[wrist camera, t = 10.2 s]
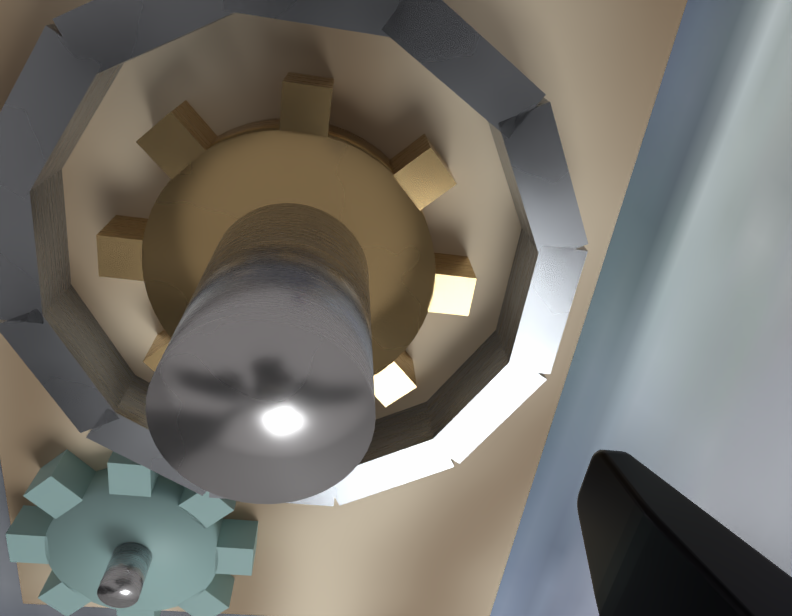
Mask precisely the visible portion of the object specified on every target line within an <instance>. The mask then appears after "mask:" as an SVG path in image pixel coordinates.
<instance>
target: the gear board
mask: <svg viewBox="0 0 792 616" xmlns="http://www.w3.org/2000/svg"><path fill="white" fill-rule="evenodd" d="M686 3H687V0H0V459H1V466H2V472H3V478H4V485H5V491H6V497H7V504H8V510H9V516H10V523H11V526H10V528H9V529H8V531H7V533H6V539H7V545H8V552H9V558H10V562H17V567H18V574H19V580H20V586H21V593H22V599H23V603H25V604H45V605H49V606H51V607H52V608H54V609H56V610H57V611H59V612H60V613H62V614H63V615H65V616H69V615H71V614H72V613H74V612H75V611H77V610H79V609H80V608H82V607H83V606H85V607H105V608H112V609H117V616H160V614H161V610H165V611H185V612H187V613H189V614H190V615H192V616H216V615H218V614H219V613H225V614H245V615H265V616H490V613H491V610H492V607H493V604H494V601H495V598H496V595H497V591H498V588H499V585H500V582H501V579H502V576H503V573H504V570H505V567H506V563H507V560H508V557H509V554H510V551H511V548H512V545H513V542H514V539H515V535H516V532H517V529H518V526H519V523H520V520H521V517H522V514H523V511H524V507H525V504H526V501H527V498H528V495H529V492H530V489H531V486H532V482H533V479H534V476H535V473H536V470H537V467H538V464H539V461H540V458H541V454H542V451H543V448H544V445H545V442H546V439H547V436H548V433H549V430H550V426H551V423H552V420H553V417H554V414H555V411H556V408H557V405H558V402H559V398H560V395H561V392H562V389H563V386H564V383H565V380H566V377H567V374H568V370H569V367H570V364H571V361H572V358H573V355H574V352H575V349H576V345H577V342H578V339H579V336H580V333H581V330H582V327H583V324H584V321H585V317H586V314H587V311H588V308H589V305H590V302H591V299H592V296H593V293H594V289H595V286H596V283H597V280H598V277H599V274H600V271H601V268H602V265H603V261H604V258H605V255H606V252H607V249H608V246H609V243H610V240H611V237H612V233H613V230H614V227H615V224H616V221H617V218H618V215H619V212H620V208H621V205H622V202H623V199H624V196H625V193H626V190H627V187H628V184H629V180H630V177H631V174H632V171H633V168H634V165H635V162H636V159H637V156H638V152H639V149H640V146H641V143H642V140H643V137H644V134H645V131H646V128H647V124H648V121H649V118H650V115H651V112H652V109H653V106H654V103H655V99H656V96H657V93H658V90H659V87H660V84H661V81H662V78H663V75H664V71H665V68H666V65H667V62H668V59H669V56H670V53H671V50H672V47H673V43H674V40H675V37H676V34H677V31H678V28H679V25H680V22H681V19H682V15H683V12H684V9H685V6H686ZM288 72H292V73H299V74H305V75H312V76H319V77H326V78H333V79H334V87H333V97H332V106H331V116H330V124H331V125H334V126H337V127H340V128H342V129H345V130H347V131H349V132H351V133H353V134H355V135H357V136H359V137H361V138H363V139H365V140H366V141H368V142H369V143H371V144H372V145H373V146H375V147H376V148H378V149H379V150H380V151H381V152H383V153H384V154H385V155H386V156H387V157H388V158H389V159H391V158H393V157H394V156H395V155H397V154H398V153H399V152H401V151H402V150H403V149H405V148H406V147H407V146H408V145H410V144H411V143H412V142H414V141H415V140H416V139H418V138H419V137H420V136H422V135H423V134H424V133H425V135H426V136H427V138H428V139H429V140H430V142H431V143H432V145H433V146H434V147H435V149H436V150H437V152H438V153H439V154H440V156H441V157H442V159H443V160H444V161H445V163H446V164H447V166H448V167H449V169H450V171H451V173H452V175H453V177H454V179H455V181H456V183H457V184H456V185H455V186H453V187H452V188H451V189H449V190H448V191H446V192H445V193H444V194H442V195H441V196H440V197H438V198H437V199H435V200H434V201H433V202H431V203H430V204H428V205H427V206H426V207H424V208H423V212H424V215H425V219H426V222H427V225H428V229H429V232H430V236H431V239H432V243H433V249H434V252H435V253H443V254H452V255H460V256H468V258H469V261H470V263H471V266H472V268H473V271H474V273H475V275H476V278H477V280H476V284H475V288H474V293H473V297H472V302H471V306H470V310H469V315H468V316H464V315H455V314H445V313H436V312H428V313H427V316H426V318H425V320H424V323H423V325H422V327H421V328H420V330H419V332H418V333H417V335H416V337H415V338H414V340H413V341H412V342H411V343H410V345H409V346H408V347H407V348H406V350H405V351H406V352H407V353H408V354H409V356H410V357H411V358H412V359H413V364H414V371H415V377H416V384H417V387H416V388H415V389H413V390H411V391H410V392H408V393H407V394H405V395H404V396H402V397H401V398H399V399H397V400H396V401H394V402H393V403H391V404H390V405H388V406H387V407H385V406H384V405H383V404H382V403H381V402H380V401H379V400H378V399H377V398H376V396H375V414H376V419H375V429H374V433H373V437H372V441H371V443H370V446H369V448H368V450H367V452H366V454H365V455H364V457H363V459H362V460H361V462H360V463H359V464H358V465H357V467H356V468H355V469H354V470H353V471H352V472H351V473H350V474H349V475H348V476H347V477H346V478H344V479H343V480H342V481H340V482H339V483H338V484H336V485H335V486H333V487H331V488H329V489H328V490H326V491H324V492H322V493H319V494H317V495H314V496H312V497H309V498H306V499H302V500H299V501H294V502H288V503H280V504H253V503H244V502H239V501H234V500H230V499H226V498H223V497H220V496H217V495H214V494H212V493H210V492H208V491H205V490H203V489H201V488H200V487H198V486H196V485H194V484H193V483H191V482H190V481H188V480H187V479H185V478H184V477H183V476H181V475H180V474H179V473H178V472H177V471H176V470H175V469H174V468H172V467H171V466H170V465H169V463H168V462H167V461H166V460H165V459H164V457H163V456H162V455H161V453H160V452H159V450H158V448H157V447H156V445H155V443H154V441H153V439H152V437H151V434H150V431H149V427H148V424H147V418H146V396H147V392H148V387H149V384H150V381H151V379H152V377H153V374H154V371H153V370H152V369H150V368H149V367H148V366H147V365H146V364H145V363H144V362H143V360H144V358H145V356H146V354H147V353H148V351H149V349H150V347H151V345H152V343H153V341H154V340H155V338H156V336H157V334H158V333H160V332H161V331H162V330H164V328H163V327H162V325H161V323H160V322H159V320H158V318H157V316H156V314H155V313H154V310H153V308H152V305H151V303H150V300H149V298H148V295H147V291H146V287H145V283H144V281H137V280H127V279H118V278H109V277H99V272H98V256H97V240H96V235H97V234H98V233H99V232H100V231H101V230H102V229H103V228H104V227H105V226H106V225H107V224H108V223H109V222H110V220H111V219H112V218H113V217H114V216H115V215H122V216H130V217H139V218H147V219H148V218H149V215H150V212H151V210H152V207H153V206H154V204H155V202H156V200H157V198H158V196H159V195H160V193H161V191H162V190H163V189H164V187H165V186H166V185H167V183H168V182H169V181H170V180H171V179H170V178H169V177H168V176H167V174H166V173H165V172H164V171H163V170H162V169H161V168H160V167H159V166H158V165H157V164H156V163H155V162H154V161H153V160H152V159H151V158H150V156H149V155H148V154H147V153H146V152H145V151H144V150H143V149H142V148H141V147H140V146H139V145H138V144H137V143H136V141H137V140H138V139H139V138H141V137H142V136H143V135H144V134H145V133H146V132H148V131H149V130H150V129H151V128H152V127H153V126H155V125H156V124H157V123H158V122H159V121H160V120H162V119H163V118H164V117H165V116H166V115H167V114H169V113H170V112H171V111H172V110H174V109H175V108H176V107H178V106H179V105H180V104H181V103H183V102H184V101H185V100H186V101H187V102H188V103H189V104H190V105H191V106H192V107H193V109H194V110H195V111H196V112H197V113H198V114H199V115H200V117H201V118H202V119H203V120H204V121H205V122H206V123H207V125H208V126H209V127H210V128H211V129H212V130H213V131H214V133H215V134H216V135H217V136H219V135H221V134H223V133H224V132H226V131H228V130H230V129H233V128H235V127H238V126H241V125H244V124H247V123H250V122H255V121H260V120H265V119H274V118H280V111H281V96H282V81H283V80H284V78H285V77H286V75H287V73H288Z"/></svg>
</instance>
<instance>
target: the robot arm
mask: <svg viewBox="0 0 792 616" xmlns="http://www.w3.org/2000/svg"><path fill="white" fill-rule="evenodd" d="M577 508H578V515H579V520H580V525H581V530H582V535H583V539H584V544H585V549H586V554H587V559H588V564H589V569H590V574H591V579H592V584H593V589H594V594H595V599H596V603H597V607H598V611H599V616H792V577H791V576H789V575H788V574H787V573H785V572H784V571H783V570H781V569H780V568H779V567H777V566H776V565H775V564H774V563H772V562H771V561H770V560H768V559H767V558H766V557H764V556H763V555H762V554H760V553H759V552H758V551H756V550H755V549H754V548H752V547H751V546H750V545H748V544H747V543H746V542H744V541H743V540H742V539H741V538H739V537H738V536H737V535H735V534H734V533H733V532H731V531H730V530H729V529H727V528H726V527H725V526H723V525H722V524H721V523H719V522H718V521H717V520H715V519H714V518H713V517H711V516H710V515H709V514H708V513H706V512H705V511H704V510H702V509H701V508H700V507H698V506H697V505H696V504H694V503H693V502H692V501H690V500H689V499H688V498H686V497H685V496H684V495H682V494H681V493H680V492H679V491H677V490H676V489H675V488H673V487H672V486H671V485H669V484H668V483H667V482H665V481H664V480H663V479H661V478H660V477H659V476H657V475H656V474H655V473H653V472H652V471H651V470H649V469H648V468H647V467H646V466H644V465H643V464H642V463H640V462H639V461H638V460H636V459H635V458H634V457H632V456H631V455H630V454H628V453H626V452H622V451H611V450H599V451H597V452H595V454H594V455H593V456H592V458H591V461H590V464H589V466H588V469H587V472H586V475H585V477H584V480H583V483H582V486H581V488H580V491H579V494H578V501H577Z"/></svg>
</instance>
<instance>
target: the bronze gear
mask: <svg viewBox="0 0 792 616" xmlns="http://www.w3.org/2000/svg"><path fill="white" fill-rule="evenodd" d="M333 87H334V79H333V78H326V77H319V76H312V75H305V74H299V73H292V72H288V73H287V75H286V77H285V78H284V80H283V81H282V96H281V111H280V118H274V119H265V120H260V121H255V122H250V123H247V124H244V125H241V126H238V127H235V128H233V129H230V130H228V131H226V132H224V133H223V134H221V135H219V136H217V135H216V134H215V133H214V131H213V130H212V129H211V128H210V127H209V126H208V125H207V123H206V122H205V121H204V120H203V119H202V118H201V117H200V115H199V114H198V113H197V112H196V111H195V110H194V109H193V107H192V106H191V105H190V104H189V103H188V102H187V101H186V100H185V101H184V102H183V103H181V104H180V105H179V106H178V107H176V108H175V109H174V110H172V111H171V112H170V113H169V114H167V115H166V116H165V117H164V118H163V119H162V120H160V121H159V122H158V123H157V124H156V125H155V126H153V127H152V128H151V129H150V130H149V131H148V132H146V133H145V134H144V135H143V136H142V137H141V138H139V139H138V140H137V141H136V143H137V144H138V145H139V146H140V147H141V148H142V149H143V150H144V151H145V152H146V153H147V154H148V155H149V156H150V158H151V159H152V160H153V161H154V162H155V163H156V164H157V165H158V166H159V167H160V168H161V169H162V170H163V171H164V172H165V173H166V174H167V176H168V177H169V178H170V179H171V180H170V181H169V182H168V183H167V185H166V186H165V187H164V189H163V190H162V191H161V193H160V195H159V196H158V198H157V200H156V202H155V204H154V206H153V207H152V210H151V212H150V215H149V218H148V219H147V218H139V217H130V216H122V215H115V216H114V217H113V218H112V219H111V220H110V222H109V223H108V224H107V225H106V226H105V227H104V228H103V229H102V230H101V231H100V232H99V233H98V234H97V235H96V240H97V256H98V272H99V277H109V278H118V279H127V280H137V281H144V283H145V287H146V291H147V295H148V298H149V300H150V303H151V305H152V308H153V310H154V313H155V314H156V316H157V318H158V320H159V322H160V323H161V325H162V327H163V328H164V330H162V331H161V332H160V333H158V334H157V336H156V338H155V340H154V341H153V343H152V345H151V347H150V349H149V351H148V353H147V354H146V356H145V358H144V360H143V362H144V363H145V364H146V365H147V366H148V367H149V368H150V369H152V370H153V371H154V374H153V377H152V379H151V381H150V384H149V387H148V392H147V396H146V418H147V424H148V427H149V431H150V434H151V437H152V439H153V441H154V443H155V445H156V447H157V448H158V450H159V452H160V453H161V455H162V456H163V457H164V459H165V460H166V461H167V462H168V463H169V465H170V466H171V467H172V468H174V469H175V470H176V471H177V472H178V473H179V474H180V475H181V476H183V477H184V478H185V479H187V480H188V481H190V482H191V483H193V484H194V485H196V486H198V487H200V488H201V489H203V490H205V491H208V492H210V493H212V494H214V495H217V496H220V497H223V498H226V499H230V500H234V501H239V502H244V503H253V504H280V503H288V502H294V501H299V500H302V499H306V498H309V497H312V496H314V495H317V494H319V493H322V492H324V491H326V490H328V489H329V488H331V487H333V486H335V485H336V484H338V483H339V482H340V481H342V480H343V479H344V478H346V477H347V476H348V475H349V474H350V473H351V472H352V471H353V470H354V469H355V468H356V467H357V465H358V464H359V463H360V462H361V460H362V459H363V457H364V455H365V454H366V452H367V450H368V448H369V446H370V443H371V441H372V437H373V433H374V429H375V419H376V414H375V396H376V398H377V399H378V400H379V401H380V402H381V403H382V404H383V405H384V406H385V407H387V406H388V405H390V404H391V403H393V402H394V401H396V400H397V399H399V398H401V397H402V396H404V395H405V394H407V393H408V392H410V391H411V390H413V389H415V388H416V387H417V384H416V377H415V371H414V364H413V359H412V358H411V357H410V356H409V354H408V353H407V352H406V351H405V350H406V348H407V347H408V346H409V345H410V343H411V342H412V341H413V340H414V338H415V337H416V335H417V333H418V332H419V330H420V328H421V327H422V325H423V323H424V320H425V318H426V316H427V313H428V312H436V313H445V314H455V315H464V316H468V315H469V310H470V306H471V302H472V297H473V293H474V288H475V284H476V280H477V278H476V275H475V273H474V271H473V268H472V266H471V263H470V261H469V258H468V256H460V255H452V254H443V253H435V252H434V249H433V243H432V239H431V236H430V232H429V229H428V225H427V222H426V219H425V215H424V212H423V208H424V207H426V206H427V205H428V204H430V203H431V202H433V201H434V200H435V199H437V198H438V197H440V196H441V195H442V194H444V193H445V192H446V191H448V190H449V189H451V188H452V187H453V186H455V185H456V184H457V183H456V181H455V179H454V177H453V175H452V173H451V171H450V169H449V167H448V166H447V164H446V163H445V161H444V160H443V159H442V157H441V156H440V154H439V153H438V152H437V150H436V149H435V147H434V146H433V145H432V143H431V142H430V140H429V139H428V138H427V136H426V135H425V133H424V134H423V135H422V136H420V137H419V138H418V139H416V140H415V141H414V142H412V143H411V144H410V145H408V146H407V147H406V148H405V149H403V150H402V151H401V152H399V153H398V154H397V155H395V156H394V157H393V158H391V159H389V158H388V157H387V156H386V155H385V154H384V153H383V152H381V151H380V150H379V149H378V148H376V147H375V146H373V145H372V144H371V143H369V142H368V141H366V140H365V139H363V138H361V137H359V136H357V135H355V134H353V133H351V132H349V131H347V130H345V129H342V128H340V127H337V126H334V125H331V124H330V116H331V106H332V97H333Z"/></svg>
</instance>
